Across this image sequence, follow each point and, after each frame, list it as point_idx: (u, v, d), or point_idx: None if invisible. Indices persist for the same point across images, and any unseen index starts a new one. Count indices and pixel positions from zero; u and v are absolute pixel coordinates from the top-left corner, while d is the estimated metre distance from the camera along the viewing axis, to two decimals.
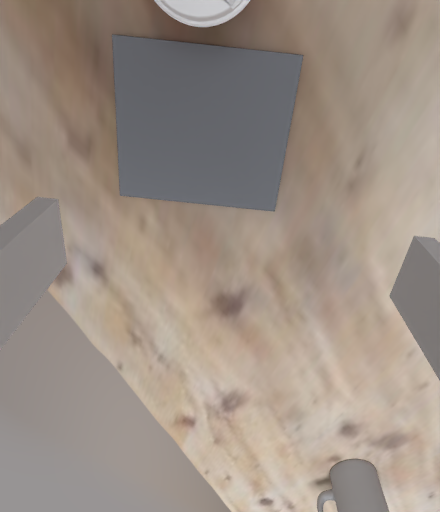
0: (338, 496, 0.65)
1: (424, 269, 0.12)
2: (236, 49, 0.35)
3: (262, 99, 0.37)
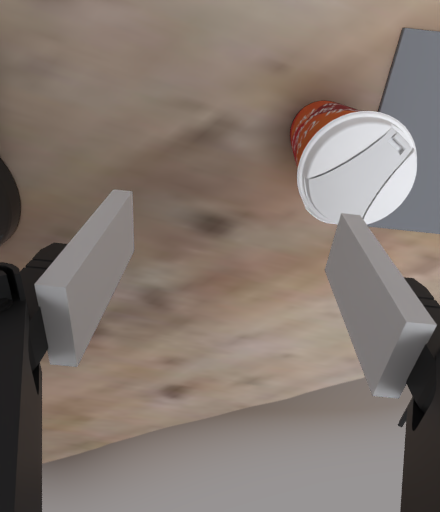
0: None
1: (345, 241, 0.14)
2: (382, 108, 0.34)
3: (439, 76, 0.32)
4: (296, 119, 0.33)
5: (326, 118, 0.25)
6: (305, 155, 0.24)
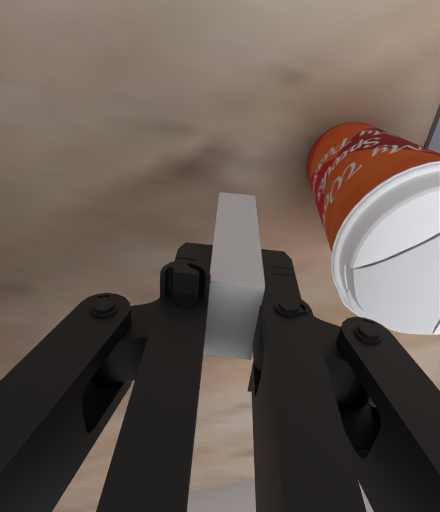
0: None
1: None
2: (435, 134, 0.24)
3: None
4: (317, 149, 0.24)
5: (375, 162, 0.16)
6: (347, 228, 0.14)
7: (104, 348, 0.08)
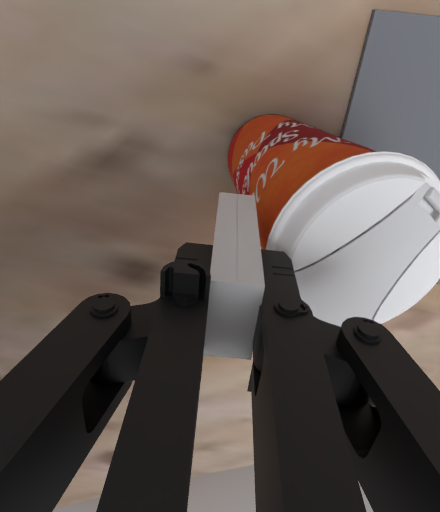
0: None
1: None
2: (347, 123, 0.24)
3: (426, 79, 0.23)
4: (236, 144, 0.23)
5: (298, 157, 0.15)
6: (278, 231, 0.13)
7: (104, 348, 0.08)
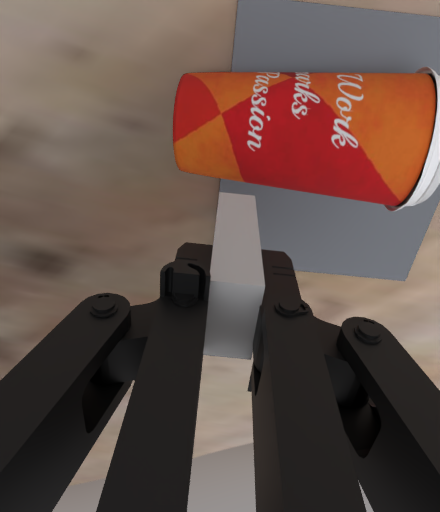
0: None
1: None
2: None
3: (300, 65, 0.23)
4: (211, 83, 0.19)
5: (367, 73, 0.19)
6: None
7: (104, 348, 0.08)
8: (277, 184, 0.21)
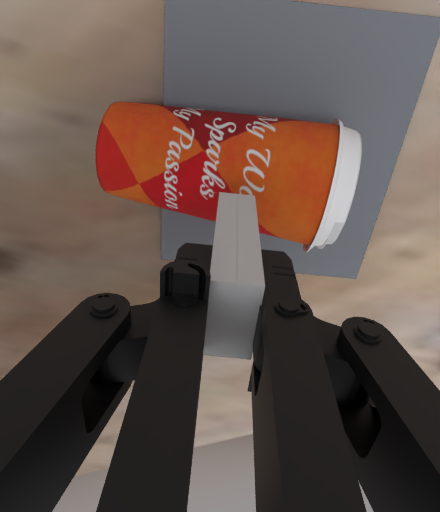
0: None
1: None
2: None
3: (232, 59, 0.22)
4: (126, 149, 0.20)
5: (280, 143, 0.19)
6: (332, 200, 0.18)
7: (104, 348, 0.08)
8: None
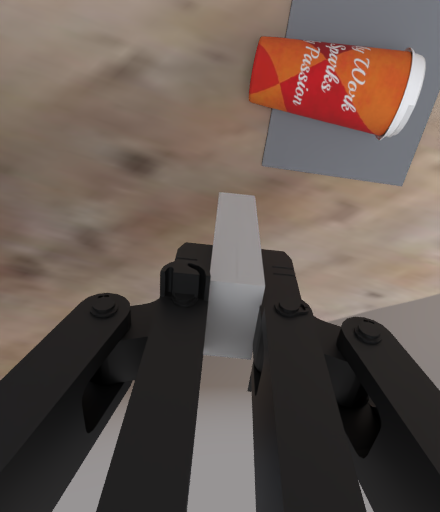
0: None
1: None
2: None
3: (335, 16, 0.34)
4: (275, 59, 0.31)
5: (375, 55, 0.31)
6: (408, 87, 0.30)
7: (104, 348, 0.08)
8: (308, 117, 0.35)
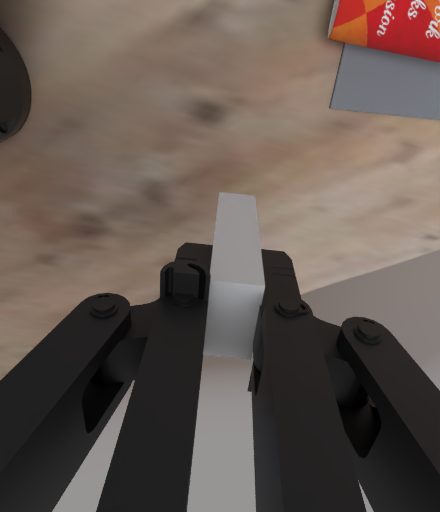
0: None
1: None
2: None
3: None
4: None
5: None
6: None
7: (104, 348, 0.08)
8: None
